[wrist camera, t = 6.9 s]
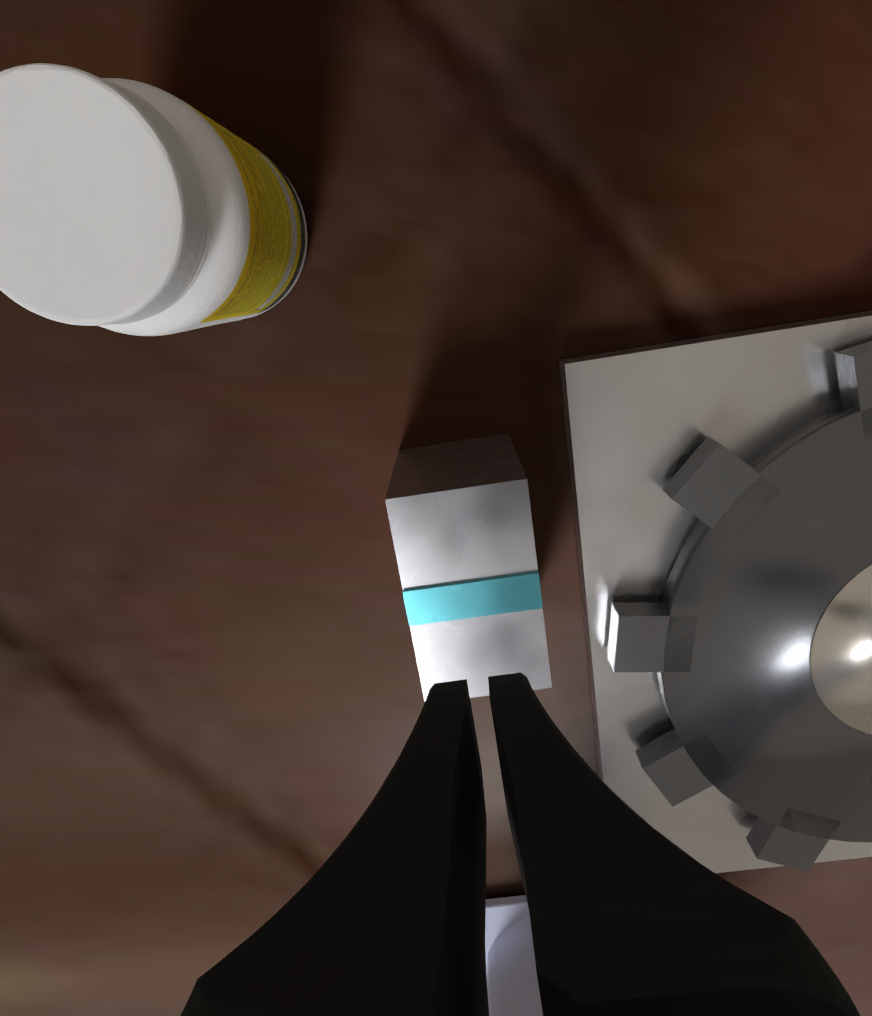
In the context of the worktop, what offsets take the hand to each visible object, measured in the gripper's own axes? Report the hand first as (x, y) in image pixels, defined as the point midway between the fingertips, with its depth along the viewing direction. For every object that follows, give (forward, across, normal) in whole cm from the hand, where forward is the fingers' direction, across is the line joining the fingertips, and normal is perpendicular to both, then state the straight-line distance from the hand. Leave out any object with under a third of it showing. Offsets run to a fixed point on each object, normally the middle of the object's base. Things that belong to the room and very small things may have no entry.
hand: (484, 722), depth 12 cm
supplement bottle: (+10, +6, -10) cm, 15 cm away
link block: (+10, 0, 0) cm, 10 cm away
